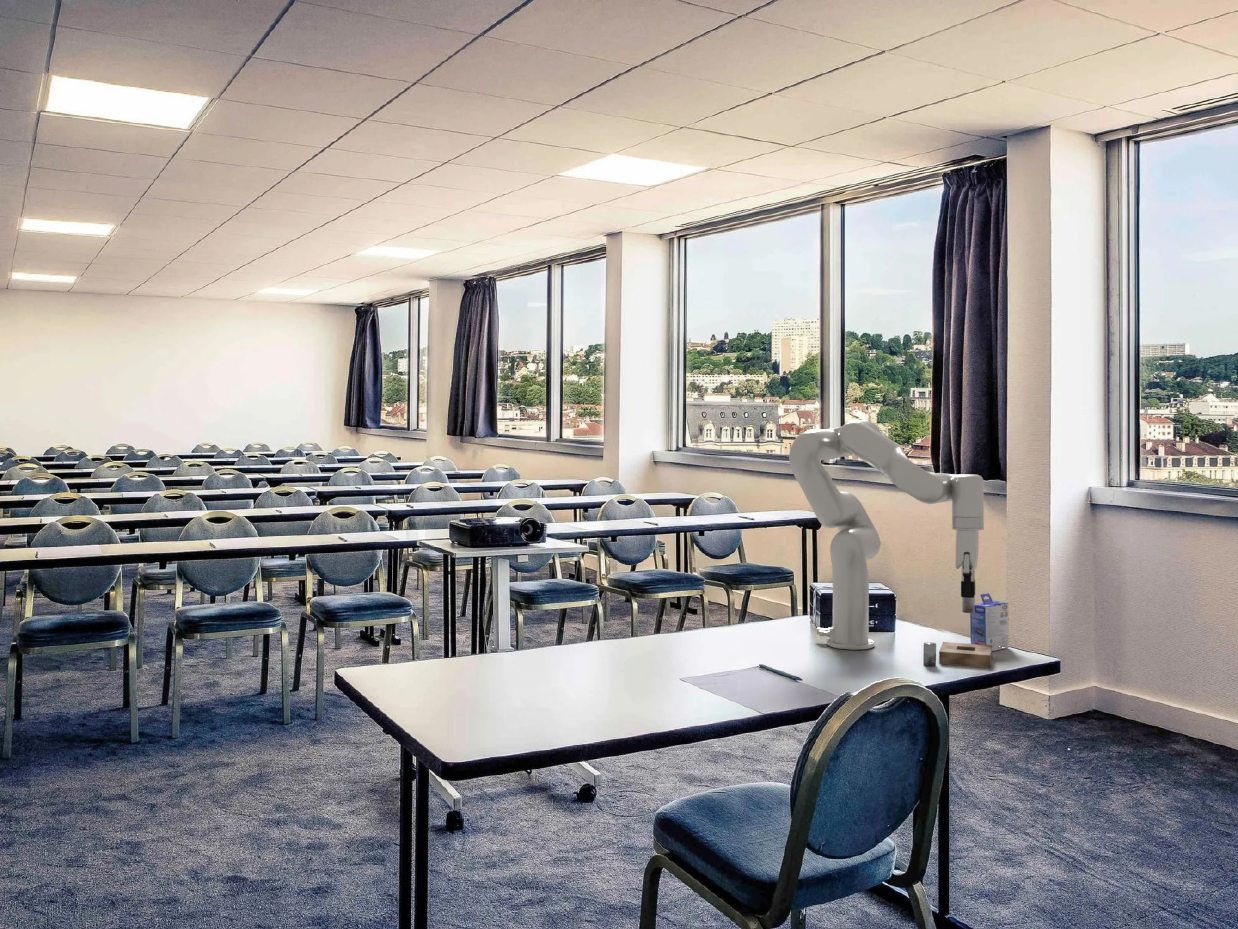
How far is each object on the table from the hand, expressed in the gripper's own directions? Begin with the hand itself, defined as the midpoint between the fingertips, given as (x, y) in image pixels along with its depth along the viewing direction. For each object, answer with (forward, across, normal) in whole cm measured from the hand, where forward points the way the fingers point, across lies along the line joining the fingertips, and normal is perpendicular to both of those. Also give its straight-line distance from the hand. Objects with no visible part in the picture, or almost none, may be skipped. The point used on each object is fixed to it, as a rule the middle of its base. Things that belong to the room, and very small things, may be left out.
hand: (968, 595), depth 261 cm
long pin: (+4, 0, 0) cm, 4 cm away
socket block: (+17, 0, -1) cm, 17 cm away
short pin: (+16, +9, -9) cm, 21 cm away
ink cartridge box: (+17, -16, +4) cm, 24 cm away
